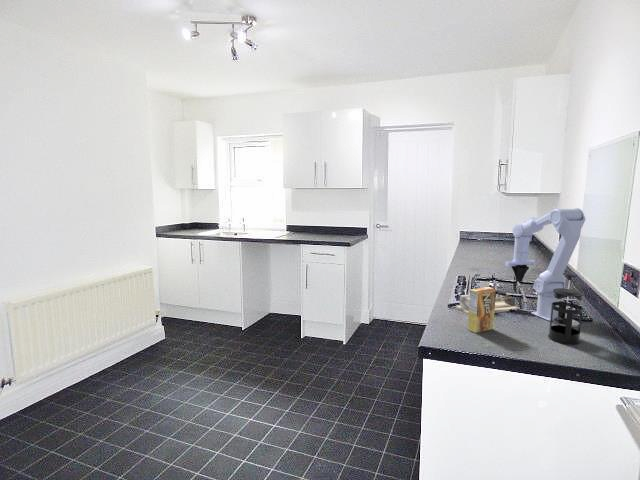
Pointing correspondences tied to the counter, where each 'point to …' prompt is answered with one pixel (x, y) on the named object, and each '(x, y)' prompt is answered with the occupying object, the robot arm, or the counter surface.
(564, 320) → the french press
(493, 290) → the candy box
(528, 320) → the counter surface
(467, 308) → the cord rig
